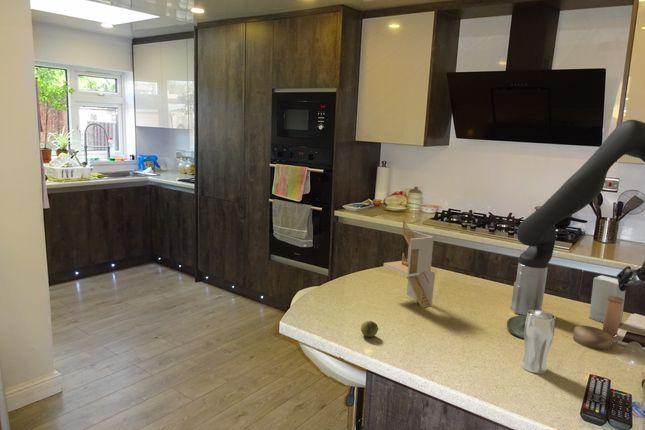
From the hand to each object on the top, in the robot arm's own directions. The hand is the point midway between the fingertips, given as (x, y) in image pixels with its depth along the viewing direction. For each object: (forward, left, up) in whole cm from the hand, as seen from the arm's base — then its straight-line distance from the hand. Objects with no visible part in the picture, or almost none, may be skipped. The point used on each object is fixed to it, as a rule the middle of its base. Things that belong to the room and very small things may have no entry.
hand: (637, 289), depth 130 cm
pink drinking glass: (0, +12, -19) cm, 22 cm away
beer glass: (-30, -18, -19) cm, 40 cm away
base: (-8, +4, -19) cm, 21 cm away
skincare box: (+3, +24, -19) cm, 30 cm away
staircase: (-63, +21, -19) cm, 69 cm away
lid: (-27, +4, -19) cm, 34 cm away
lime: (-74, -12, -19) cm, 77 cm away
